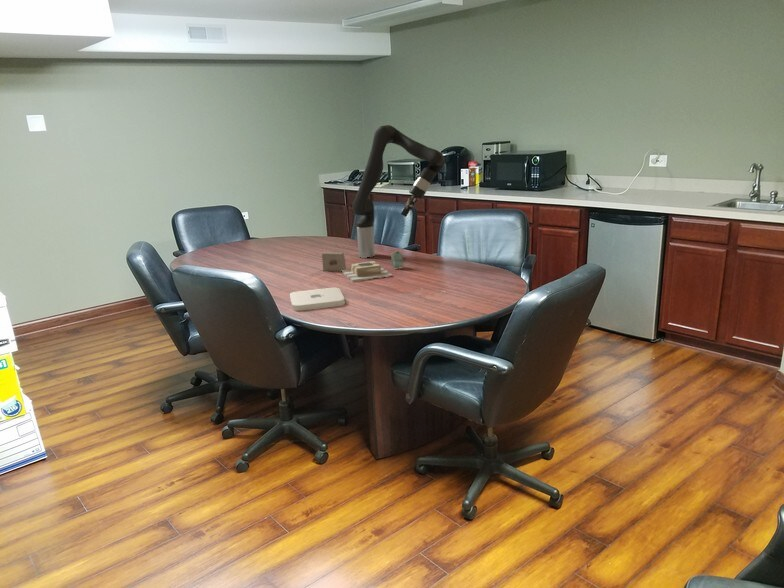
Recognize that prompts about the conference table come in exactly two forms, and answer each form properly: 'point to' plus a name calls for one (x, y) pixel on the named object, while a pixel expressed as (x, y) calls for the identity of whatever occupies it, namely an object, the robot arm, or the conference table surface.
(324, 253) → the fossil
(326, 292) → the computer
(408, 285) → the conference table surface
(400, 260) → the post
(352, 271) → the stand
